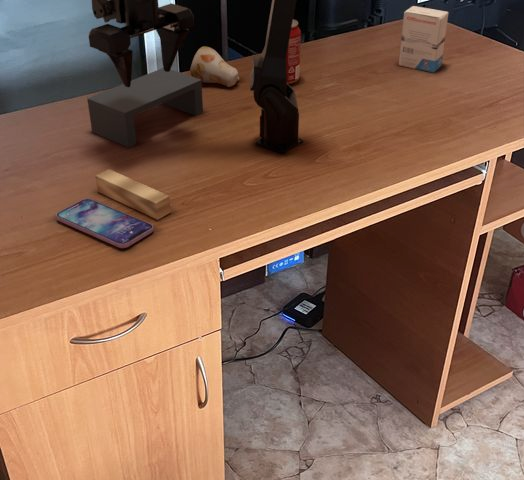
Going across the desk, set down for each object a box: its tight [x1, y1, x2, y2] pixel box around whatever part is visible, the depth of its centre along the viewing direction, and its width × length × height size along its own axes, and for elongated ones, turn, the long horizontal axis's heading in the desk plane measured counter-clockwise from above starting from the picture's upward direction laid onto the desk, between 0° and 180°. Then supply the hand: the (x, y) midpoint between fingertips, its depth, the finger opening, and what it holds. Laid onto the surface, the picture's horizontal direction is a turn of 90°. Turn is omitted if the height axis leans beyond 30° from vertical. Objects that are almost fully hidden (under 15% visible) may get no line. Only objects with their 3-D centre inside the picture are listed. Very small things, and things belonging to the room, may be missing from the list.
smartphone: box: [55, 198, 154, 249], centre depth 122 cm, size 7×1×15 cm
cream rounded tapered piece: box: [189, 46, 240, 88], centre depth 164 cm, size 8×10×10 cm
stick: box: [95, 168, 171, 221], centre depth 127 cm, size 14×3×3 cm, turn 51°
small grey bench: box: [86, 67, 204, 148], centre depth 149 cm, size 10×20×7 cm, turn 141°
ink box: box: [398, 5, 449, 73], centre depth 170 cm, size 9×5×12 cm, turn 58°
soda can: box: [286, 18, 302, 86], centre depth 163 cm, size 7×7×12 cm
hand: (147, 78), depth 136 cm, fingers open, 9 cm apart
